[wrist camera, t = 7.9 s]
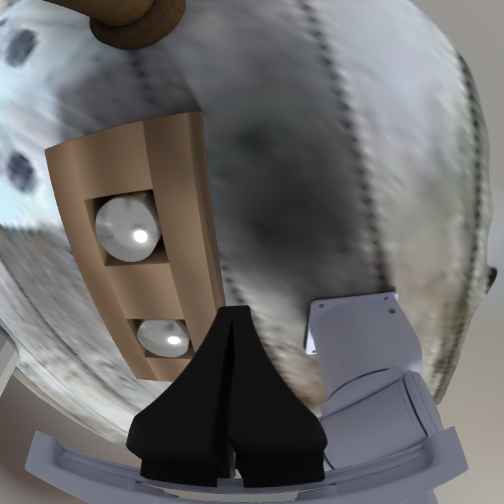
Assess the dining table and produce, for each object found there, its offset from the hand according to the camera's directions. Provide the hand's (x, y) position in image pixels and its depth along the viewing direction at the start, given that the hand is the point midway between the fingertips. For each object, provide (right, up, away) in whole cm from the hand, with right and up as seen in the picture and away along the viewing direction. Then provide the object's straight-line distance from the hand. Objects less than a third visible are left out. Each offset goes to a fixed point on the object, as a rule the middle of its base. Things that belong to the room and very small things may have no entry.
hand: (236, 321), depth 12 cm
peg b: (-7, -2, +13) cm, 15 cm away
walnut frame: (-7, +3, +10) cm, 13 cm away
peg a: (-7, +7, +8) cm, 13 cm away
